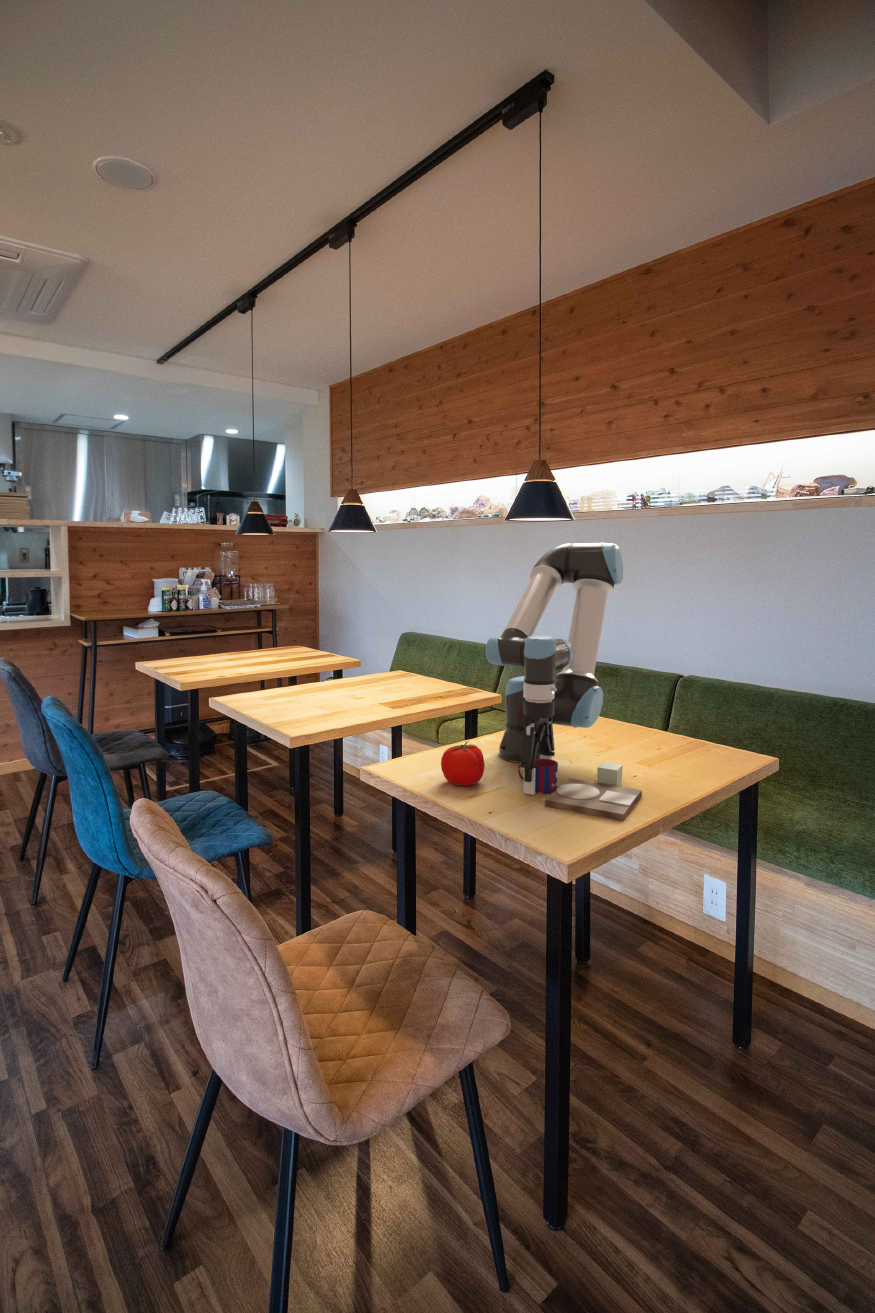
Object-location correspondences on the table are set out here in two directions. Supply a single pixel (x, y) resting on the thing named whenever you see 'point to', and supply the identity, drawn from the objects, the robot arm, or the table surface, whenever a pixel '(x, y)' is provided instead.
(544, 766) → the mug
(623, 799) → the board
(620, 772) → the pale sage green cube
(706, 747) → the table surface
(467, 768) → the tomato
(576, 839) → the table surface
